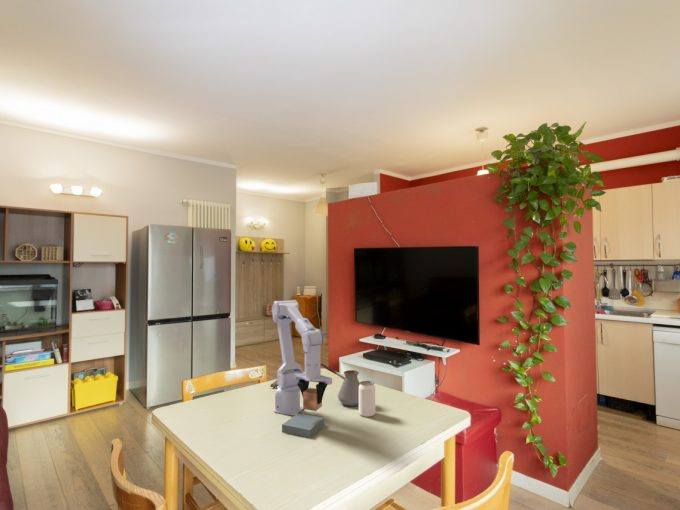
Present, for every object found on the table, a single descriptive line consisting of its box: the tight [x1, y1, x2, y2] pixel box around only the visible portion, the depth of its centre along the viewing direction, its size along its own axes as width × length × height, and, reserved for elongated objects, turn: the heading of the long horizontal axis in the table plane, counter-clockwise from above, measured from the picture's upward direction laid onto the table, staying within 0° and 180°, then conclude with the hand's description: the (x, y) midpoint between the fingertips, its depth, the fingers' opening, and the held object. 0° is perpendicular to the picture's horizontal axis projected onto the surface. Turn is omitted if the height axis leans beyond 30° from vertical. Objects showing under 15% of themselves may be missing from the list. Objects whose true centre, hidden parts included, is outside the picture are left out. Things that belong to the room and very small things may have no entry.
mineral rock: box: [270, 379, 278, 388], centre depth 178 cm, size 11×4×8 cm
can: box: [358, 380, 376, 418], centre depth 143 cm, size 6×6×12 cm
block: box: [302, 387, 323, 412], centre depth 131 cm, size 5×5×6 cm
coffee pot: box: [321, 362, 360, 407], centre depth 157 cm, size 21×12×15 cm, turn 63°
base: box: [281, 412, 325, 438], centre depth 130 cm, size 11×11×2 cm
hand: (312, 402), depth 131 cm, fingers closed on block, 5 cm apart
